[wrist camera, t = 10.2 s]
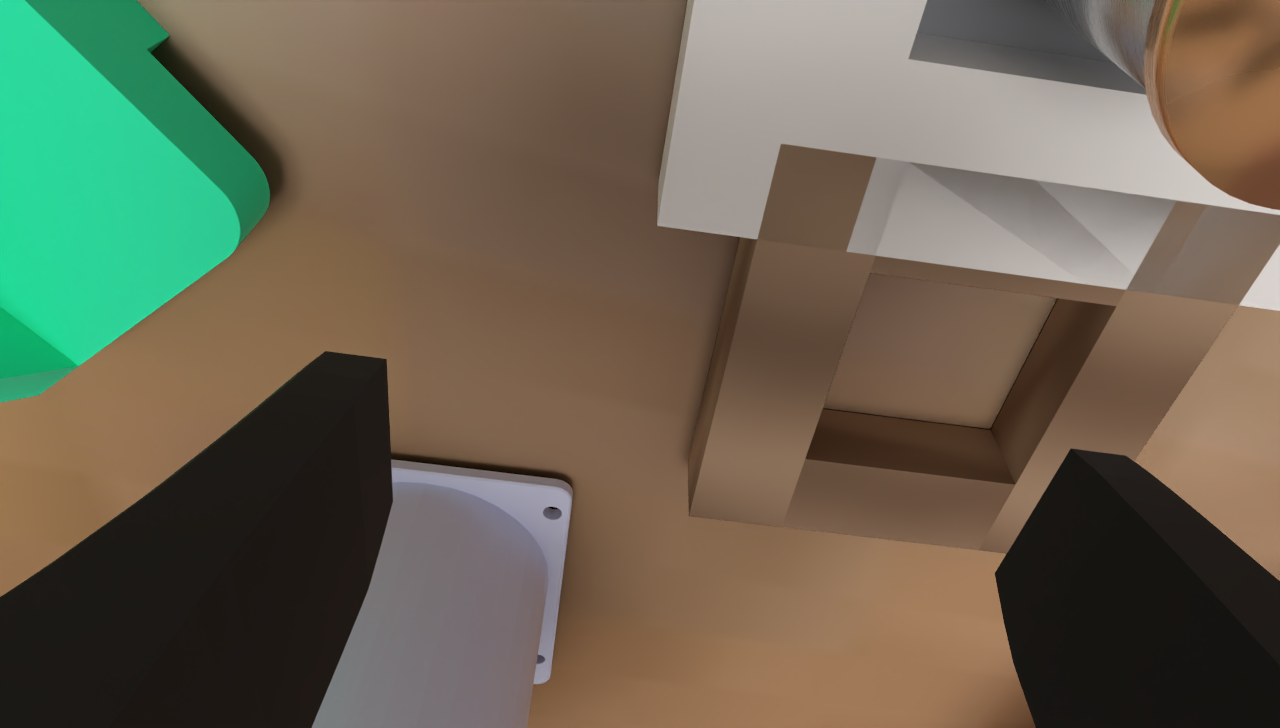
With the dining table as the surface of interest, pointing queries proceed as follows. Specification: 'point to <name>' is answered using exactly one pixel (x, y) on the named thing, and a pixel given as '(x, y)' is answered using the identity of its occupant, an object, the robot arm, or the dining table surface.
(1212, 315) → the mount block
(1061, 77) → the dock plate
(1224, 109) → the pin
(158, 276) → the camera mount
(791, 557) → the dining table surface
